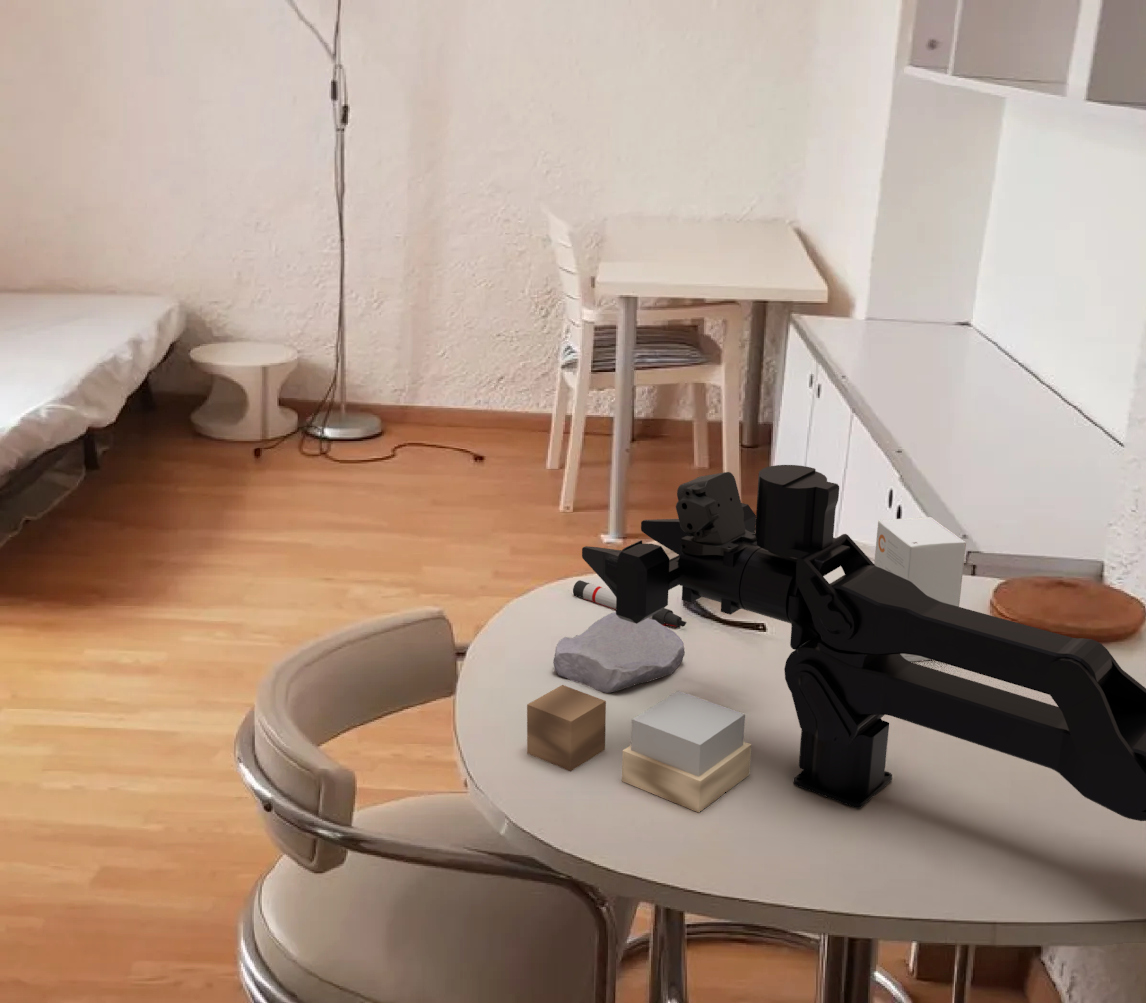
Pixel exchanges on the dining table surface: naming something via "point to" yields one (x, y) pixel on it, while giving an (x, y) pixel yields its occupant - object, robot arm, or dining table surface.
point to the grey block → (687, 732)
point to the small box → (922, 558)
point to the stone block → (619, 653)
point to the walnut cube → (566, 727)
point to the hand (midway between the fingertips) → (613, 538)
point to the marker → (609, 600)
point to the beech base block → (686, 778)
